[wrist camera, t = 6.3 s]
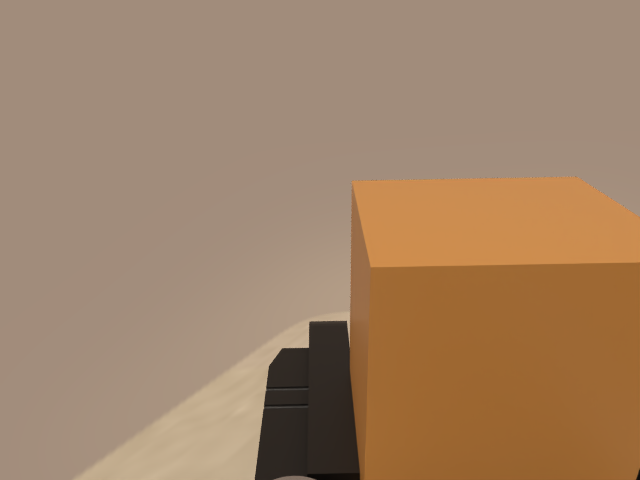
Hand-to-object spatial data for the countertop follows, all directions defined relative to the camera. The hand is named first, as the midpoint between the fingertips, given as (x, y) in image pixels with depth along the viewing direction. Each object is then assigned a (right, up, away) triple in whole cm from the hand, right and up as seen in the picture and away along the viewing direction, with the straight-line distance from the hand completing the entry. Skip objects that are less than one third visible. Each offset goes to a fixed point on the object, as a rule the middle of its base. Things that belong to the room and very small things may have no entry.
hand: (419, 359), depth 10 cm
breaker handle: (0, -7, 0) cm, 7 cm away
